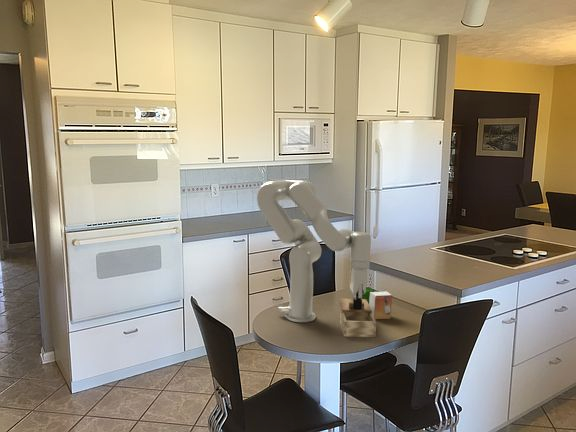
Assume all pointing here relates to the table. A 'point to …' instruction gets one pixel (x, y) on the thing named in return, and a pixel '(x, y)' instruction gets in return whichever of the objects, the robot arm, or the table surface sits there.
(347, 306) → the lid
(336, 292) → the table surface
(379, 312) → the small box
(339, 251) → the robot arm
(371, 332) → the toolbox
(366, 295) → the bell pepper
